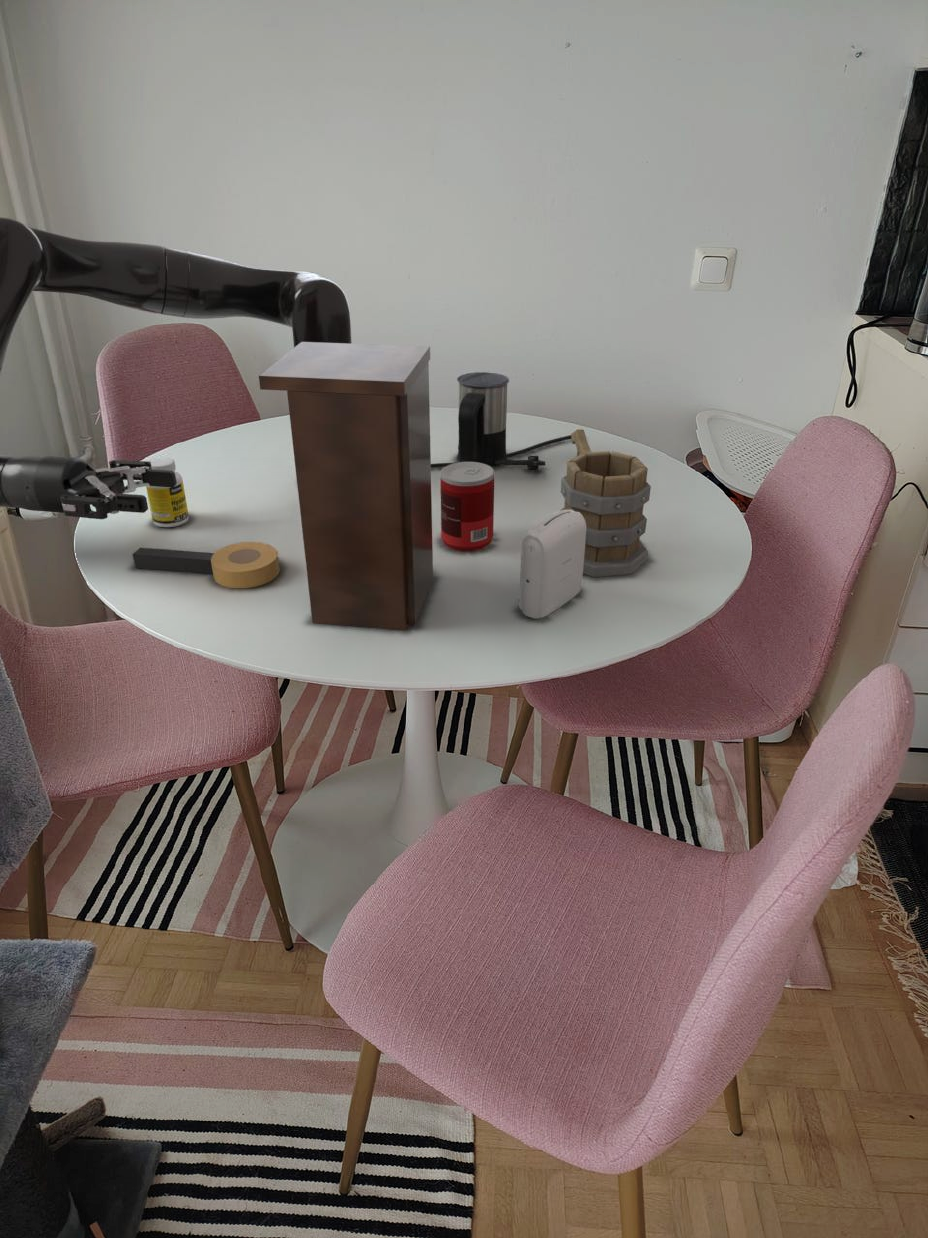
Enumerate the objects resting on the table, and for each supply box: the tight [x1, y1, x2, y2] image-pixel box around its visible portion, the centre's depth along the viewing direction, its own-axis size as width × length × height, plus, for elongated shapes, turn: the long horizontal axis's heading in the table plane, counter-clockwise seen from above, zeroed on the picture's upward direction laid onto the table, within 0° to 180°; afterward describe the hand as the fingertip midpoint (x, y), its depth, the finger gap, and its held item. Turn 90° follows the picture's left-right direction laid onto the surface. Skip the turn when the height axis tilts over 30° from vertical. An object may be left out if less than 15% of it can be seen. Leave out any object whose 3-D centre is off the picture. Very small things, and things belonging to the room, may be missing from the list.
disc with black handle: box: [132, 541, 281, 589], centre depth 119 cm, size 20×9×3 cm, turn 81°
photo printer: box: [518, 510, 586, 620], centre depth 109 cm, size 10×4×12 cm, turn 140°
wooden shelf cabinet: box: [258, 342, 434, 631], centre depth 105 cm, size 16×15×31 cm
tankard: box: [559, 428, 652, 578], centre depth 122 cm, size 20×13×15 cm, turn 9°
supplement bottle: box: [145, 456, 190, 528], centre depth 131 cm, size 5×5×10 cm
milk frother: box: [456, 371, 547, 471], centre depth 149 cm, size 14×16×15 cm
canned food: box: [439, 461, 496, 553], centre depth 124 cm, size 8×8×11 cm
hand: (161, 491), depth 114 cm, fingers open, 8 cm apart
